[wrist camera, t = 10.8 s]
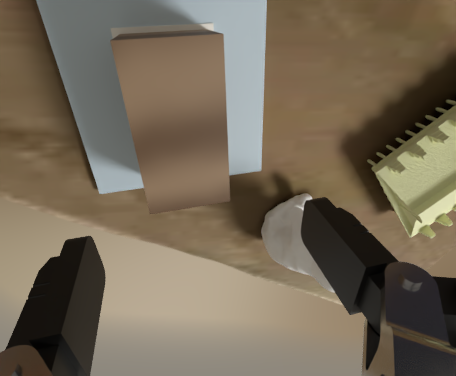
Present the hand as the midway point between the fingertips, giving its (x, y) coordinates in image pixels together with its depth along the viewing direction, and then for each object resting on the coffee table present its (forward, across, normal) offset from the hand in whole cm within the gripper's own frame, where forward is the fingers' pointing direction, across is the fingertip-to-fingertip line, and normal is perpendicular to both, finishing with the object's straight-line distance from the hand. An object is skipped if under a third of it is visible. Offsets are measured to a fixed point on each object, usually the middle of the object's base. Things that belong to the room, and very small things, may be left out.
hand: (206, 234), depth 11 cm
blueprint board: (+17, 0, -2) cm, 18 cm away
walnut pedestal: (+16, 0, 0) cm, 16 cm away
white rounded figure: (+18, -12, +14) cm, 26 cm away
